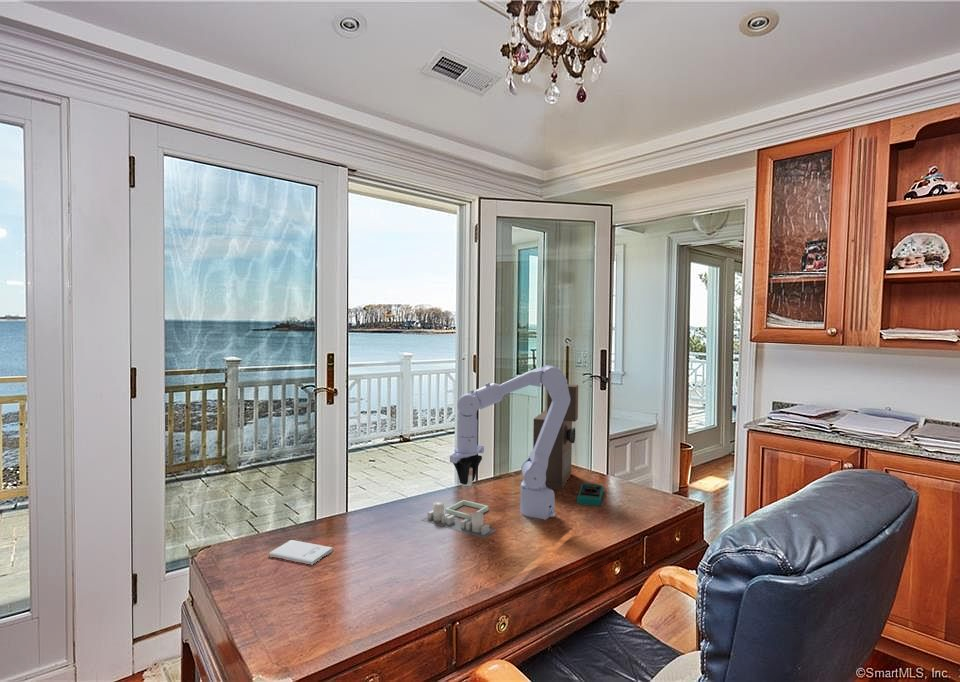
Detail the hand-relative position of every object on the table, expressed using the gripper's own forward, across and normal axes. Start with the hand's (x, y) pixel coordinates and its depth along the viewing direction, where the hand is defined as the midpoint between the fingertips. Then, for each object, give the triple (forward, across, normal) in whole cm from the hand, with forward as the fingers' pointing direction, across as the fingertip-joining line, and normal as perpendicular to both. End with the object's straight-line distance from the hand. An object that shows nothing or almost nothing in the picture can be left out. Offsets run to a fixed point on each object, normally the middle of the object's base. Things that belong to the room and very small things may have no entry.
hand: (467, 482), depth 148 cm
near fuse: (+9, +10, +10) cm, 16 cm away
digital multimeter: (+11, -35, +24) cm, 44 cm away
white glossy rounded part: (+9, +9, -3) cm, 13 cm away
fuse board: (+10, +9, +3) cm, 14 cm away
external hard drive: (+11, +42, -19) cm, 48 cm away
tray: (+10, 0, 0) cm, 10 cm away
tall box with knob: (+10, -44, +7) cm, 46 cm away
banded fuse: (+1, 0, 0) cm, 1 cm away
